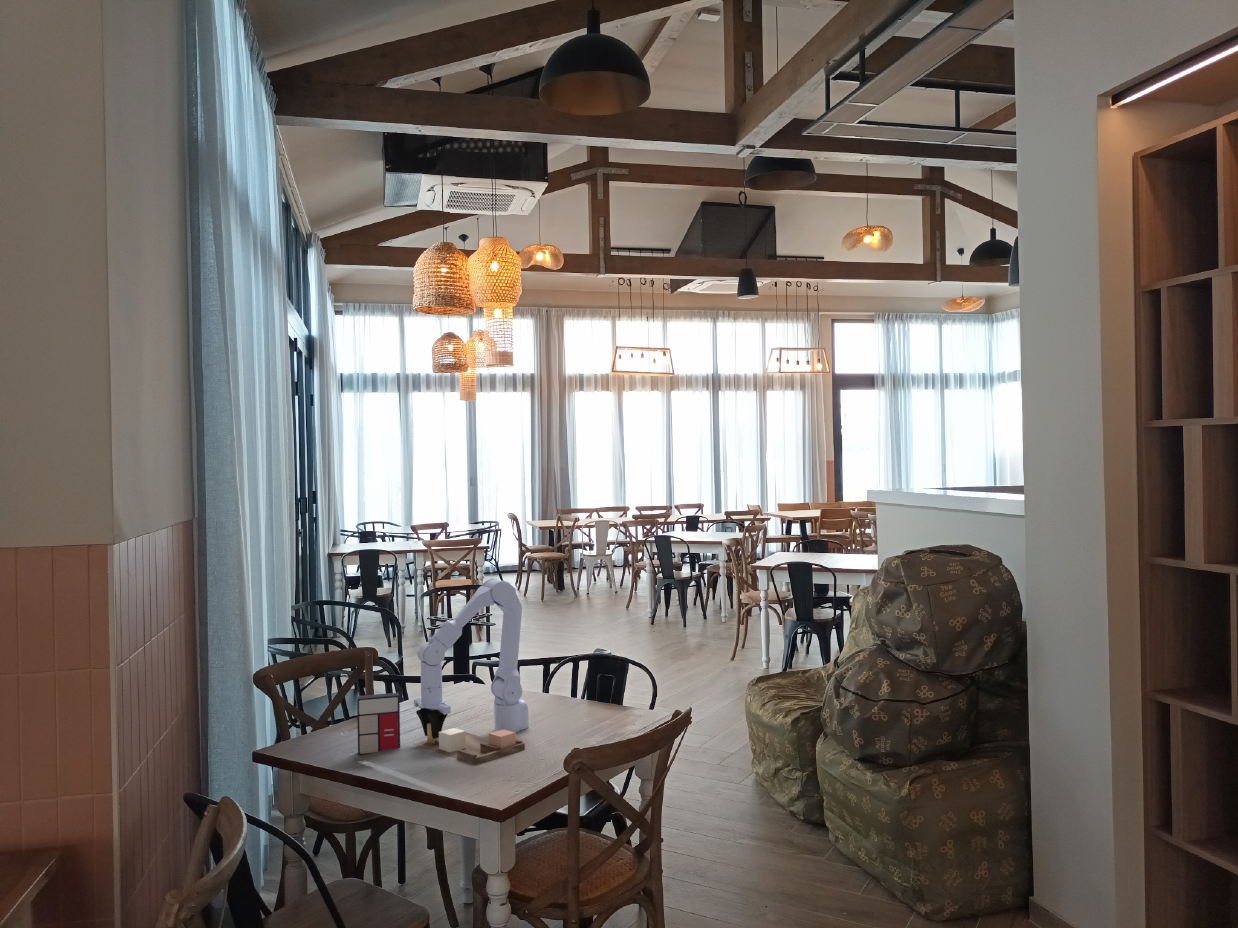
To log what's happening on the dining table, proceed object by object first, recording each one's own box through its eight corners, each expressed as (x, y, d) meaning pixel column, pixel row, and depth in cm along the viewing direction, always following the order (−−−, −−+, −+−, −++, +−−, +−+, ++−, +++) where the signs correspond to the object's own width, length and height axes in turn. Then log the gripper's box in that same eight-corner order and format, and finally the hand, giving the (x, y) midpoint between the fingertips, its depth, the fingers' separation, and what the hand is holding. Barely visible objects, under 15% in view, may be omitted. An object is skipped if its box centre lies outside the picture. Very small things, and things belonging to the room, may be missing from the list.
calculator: (357, 756, 232) (356, 699, 233) (358, 751, 236) (357, 695, 237) (400, 751, 235) (399, 695, 235) (400, 747, 239) (399, 692, 240)
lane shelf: (460, 734, 251) (460, 723, 251) (524, 752, 231) (524, 741, 232) (413, 747, 239) (412, 736, 239) (476, 768, 220) (476, 756, 220)
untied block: (503, 745, 235) (503, 729, 235) (515, 749, 231) (515, 732, 231) (489, 750, 231) (488, 733, 231) (501, 754, 228) (500, 736, 228)
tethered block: (437, 738, 243) (437, 720, 243) (465, 747, 234) (465, 728, 234) (422, 743, 239) (421, 724, 239) (450, 752, 230) (449, 733, 230)
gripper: (404, 685, 242) (405, 734, 242) (434, 693, 232) (435, 744, 232) (425, 680, 247) (426, 729, 247) (456, 688, 238) (457, 738, 237)
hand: (432, 736), depth 240 cm, fingers closed on tethered block, 3 cm apart
